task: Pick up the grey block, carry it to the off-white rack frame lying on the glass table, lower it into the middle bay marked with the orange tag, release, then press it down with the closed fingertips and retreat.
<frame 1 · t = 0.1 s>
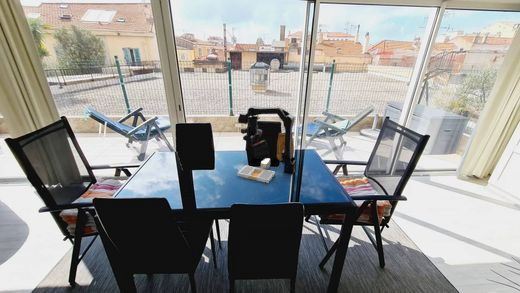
hand: (253, 145, 156), 15 cm above the table, fingers open, 9 cm apart
coffee package: (284, 159, 170), on the table
magazine: (260, 158, 172), on the table
rack: (256, 175, 147), on the table
grey block: (265, 168, 156), on the table
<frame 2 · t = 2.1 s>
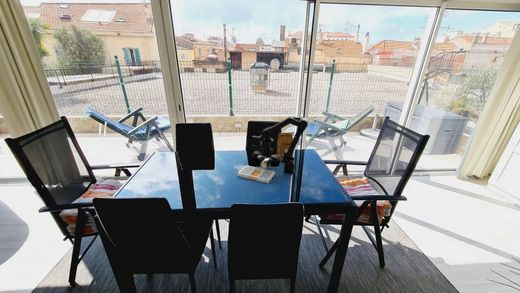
hand: (265, 167, 155), 1 cm above the table, fingers closed on grey block, 4 cm apart
grey block: (265, 168, 156), on the table, touching gripper
everything else where it was.
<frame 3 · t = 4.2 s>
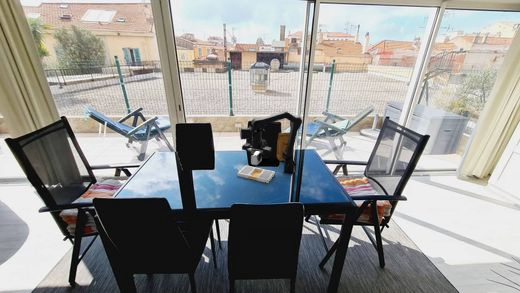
hand: (256, 160, 142), 11 cm above the table, fingers closed on grey block, 4 cm apart
grey block: (256, 162, 143), point 10 cm above the table, touching gripper
everything else where it was.
when the fingers open (3 cm above the table, at t = 5.9 s): grey block drops 1 cm, resting on rack.
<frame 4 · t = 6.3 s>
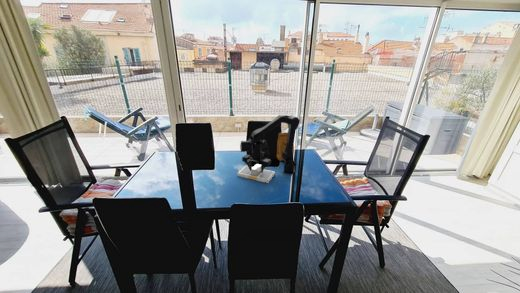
hand: (256, 171, 146), 3 cm above the table, fingers open, 8 cm apart
grey block: (256, 174, 146), resting on rack
everything else where it was.
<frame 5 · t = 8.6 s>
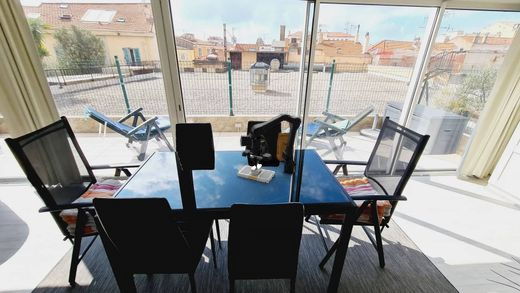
hand: (256, 166, 144), 6 cm above the table, fingers closed, pressing on grey block
grey block: (256, 174, 146), resting on rack, touching gripper
everything else where it was.
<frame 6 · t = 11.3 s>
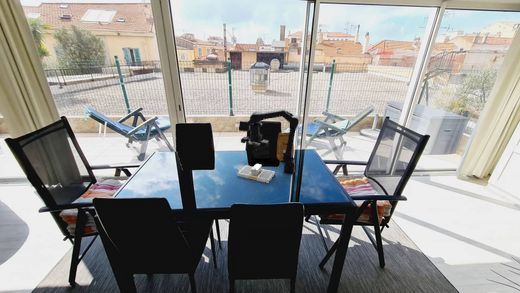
hand: (254, 153, 150), 12 cm above the table, fingers closed
grey block: (256, 174, 146), resting on rack
everything else where it was.
at the end: grey block 0.0 cm off-centre on the rack, point 0.2 cm above the rack's base; grey block tilted 0°; the gripper is holding nothing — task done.
